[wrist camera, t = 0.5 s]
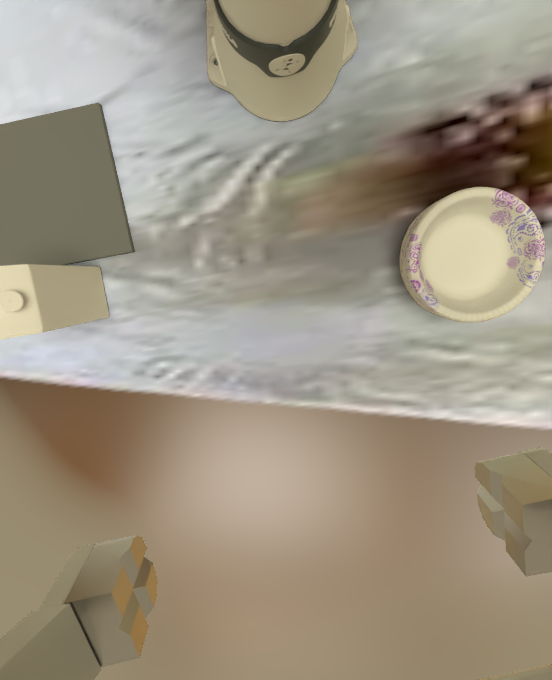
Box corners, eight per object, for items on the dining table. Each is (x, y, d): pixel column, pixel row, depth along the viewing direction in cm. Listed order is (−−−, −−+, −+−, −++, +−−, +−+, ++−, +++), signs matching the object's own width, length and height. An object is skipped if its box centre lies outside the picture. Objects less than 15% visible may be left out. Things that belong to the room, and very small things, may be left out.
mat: (-80, 145, 53) (-85, 143, 53) (101, 105, 51) (98, 102, 50) (-38, 284, 56) (-43, 284, 56) (134, 251, 54) (132, 251, 53)
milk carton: (63, 322, 56) (-53, 347, 38) (52, 273, 55) (-73, 272, 37) (110, 316, 56) (16, 338, 37) (100, 266, 55) (-2, 262, 36)
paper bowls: (369, 255, 53) (381, 252, 45) (461, 173, 50) (491, 155, 43) (441, 338, 54) (465, 349, 46) (534, 262, 52) (576, 261, 44)
